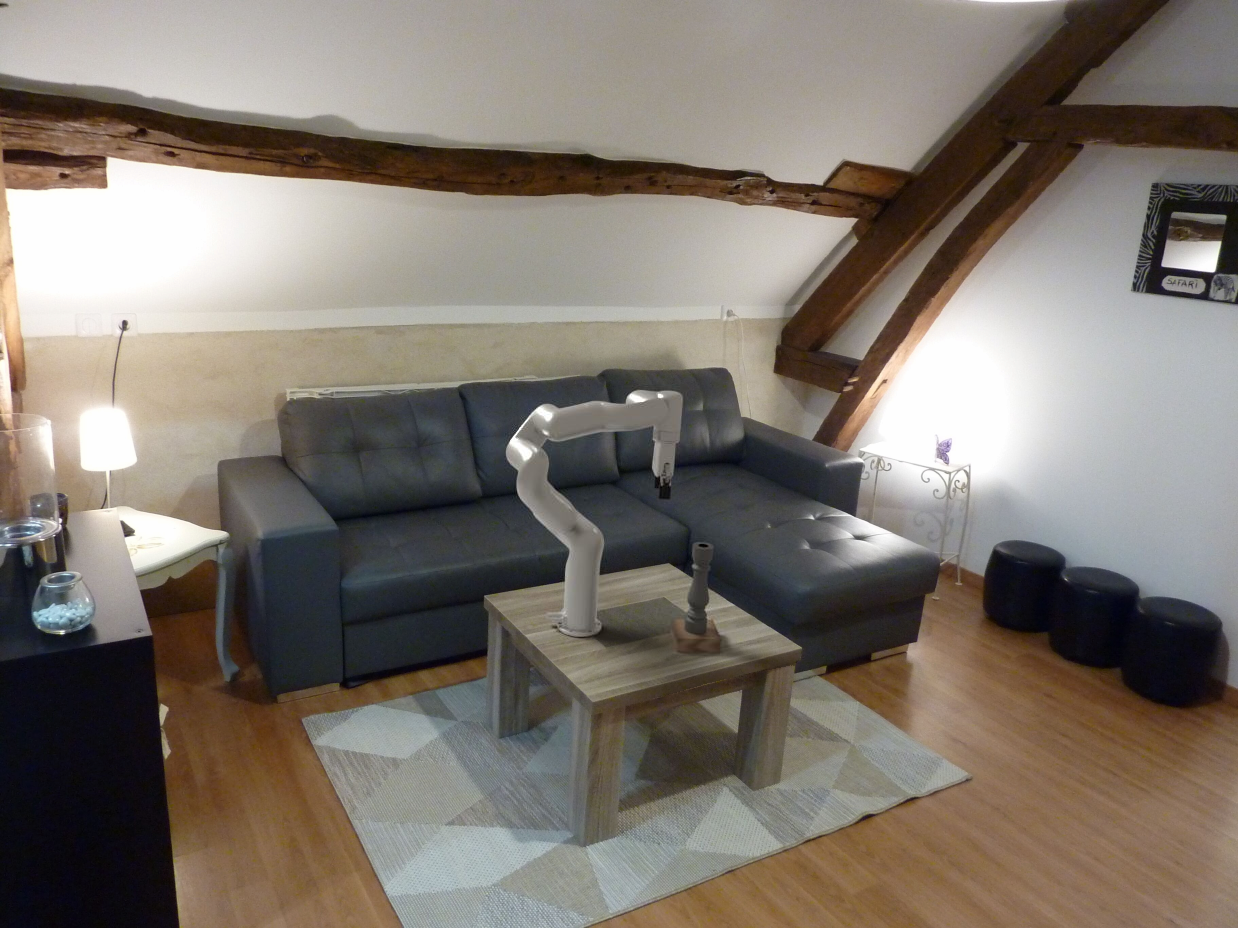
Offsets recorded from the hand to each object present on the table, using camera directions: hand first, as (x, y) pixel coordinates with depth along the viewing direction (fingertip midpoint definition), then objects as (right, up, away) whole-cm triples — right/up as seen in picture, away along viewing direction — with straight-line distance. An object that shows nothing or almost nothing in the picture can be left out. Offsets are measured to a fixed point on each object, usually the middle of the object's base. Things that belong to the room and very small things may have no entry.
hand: (661, 493), depth 271 cm
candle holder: (+9, -38, -5) cm, 39 cm away
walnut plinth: (+9, -42, -4) cm, 43 cm away
